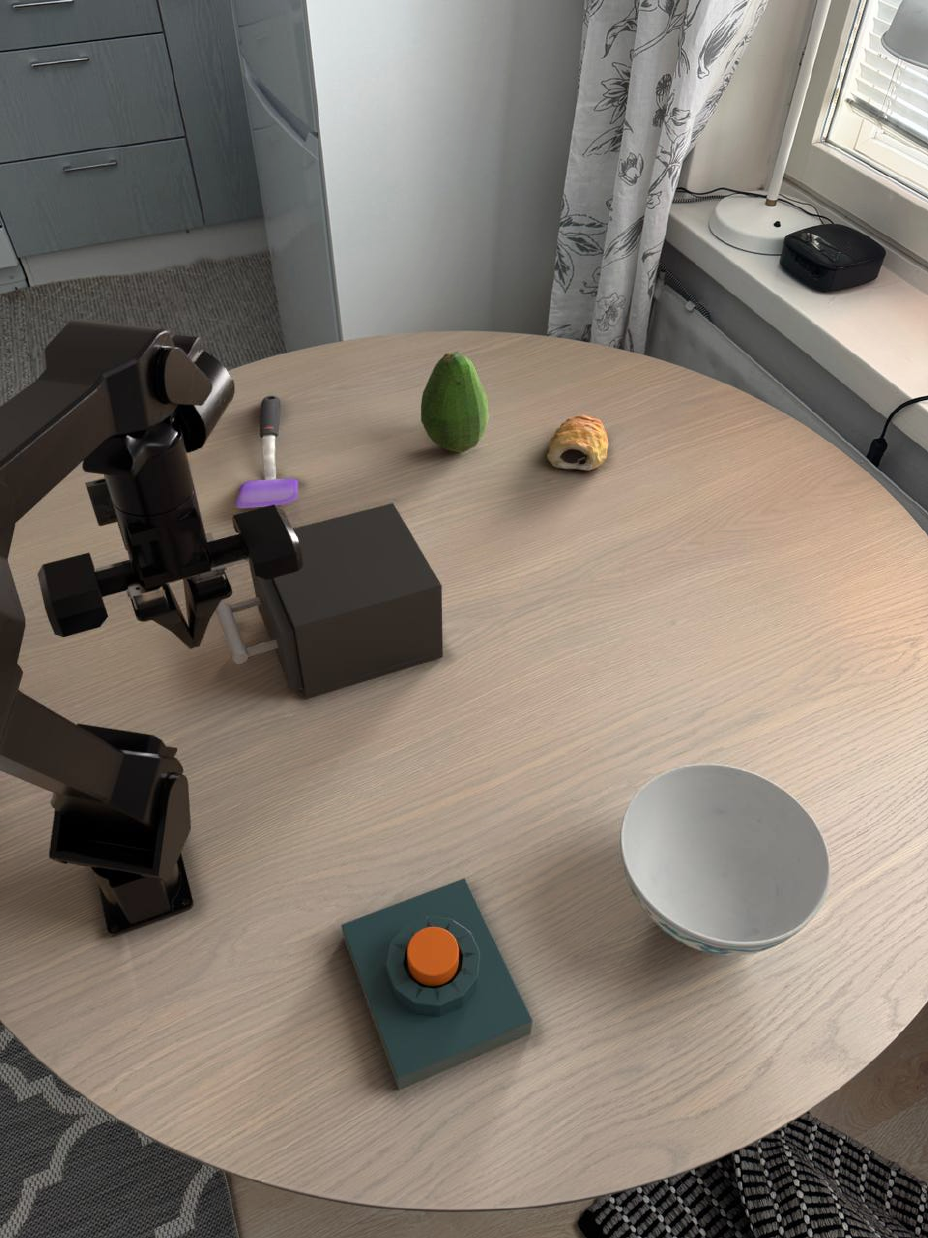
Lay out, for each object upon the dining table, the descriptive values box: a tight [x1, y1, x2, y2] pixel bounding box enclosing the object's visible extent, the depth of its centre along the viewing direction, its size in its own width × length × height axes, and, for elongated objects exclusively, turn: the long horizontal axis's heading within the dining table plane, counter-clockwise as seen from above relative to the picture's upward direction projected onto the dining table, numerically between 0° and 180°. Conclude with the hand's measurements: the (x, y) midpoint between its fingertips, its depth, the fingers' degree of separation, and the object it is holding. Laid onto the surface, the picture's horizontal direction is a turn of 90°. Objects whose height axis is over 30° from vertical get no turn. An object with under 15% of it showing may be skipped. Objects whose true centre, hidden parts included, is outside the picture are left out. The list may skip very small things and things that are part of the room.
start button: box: [407, 927, 459, 986], centre depth 70 cm, size 4×4×2 cm
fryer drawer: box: [215, 557, 303, 693], centre depth 93 cm, size 17×11×8 cm
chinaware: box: [619, 763, 832, 956], centre depth 75 cm, size 15×15×8 cm
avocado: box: [420, 351, 490, 453], centre depth 115 cm, size 8×8×12 cm
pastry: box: [546, 414, 610, 471], centre depth 118 cm, size 9×7×4 cm
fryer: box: [272, 502, 444, 700], centre depth 94 cm, size 14×13×10 cm
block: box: [341, 877, 533, 1091], centre depth 71 cm, size 12×10×4 cm
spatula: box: [234, 395, 299, 510], centre depth 117 cm, size 24×7×2 cm, turn 6°
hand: (193, 644), depth 81 cm, fingers closed
